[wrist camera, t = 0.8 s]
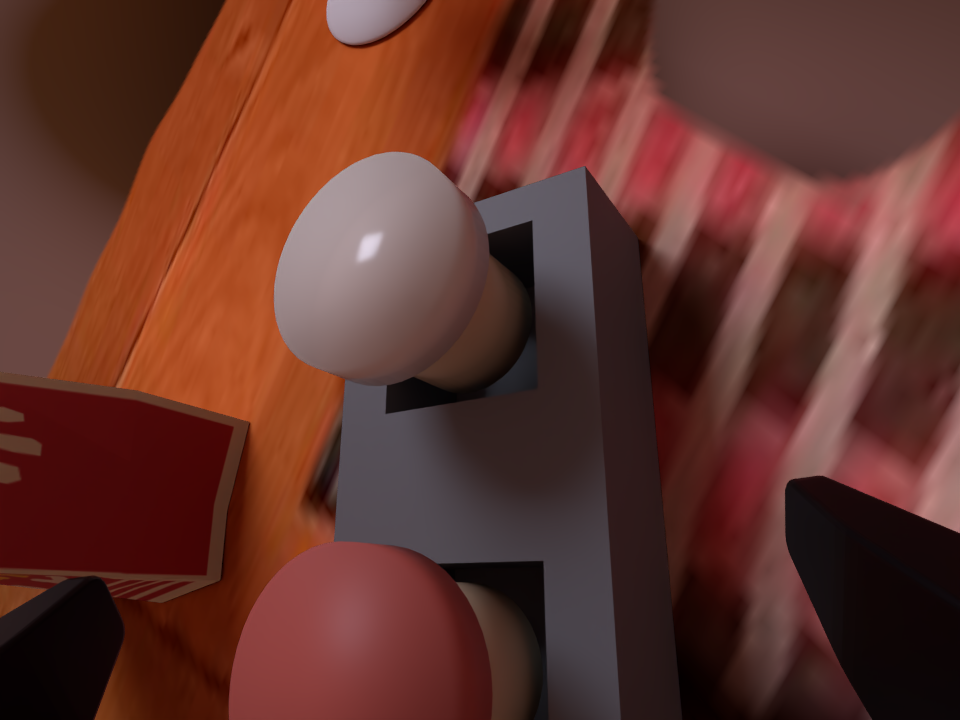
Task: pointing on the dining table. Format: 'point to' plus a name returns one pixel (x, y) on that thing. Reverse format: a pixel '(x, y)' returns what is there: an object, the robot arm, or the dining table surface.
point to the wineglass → (368, 18)
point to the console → (541, 462)
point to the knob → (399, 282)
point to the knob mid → (382, 643)
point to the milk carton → (112, 487)
